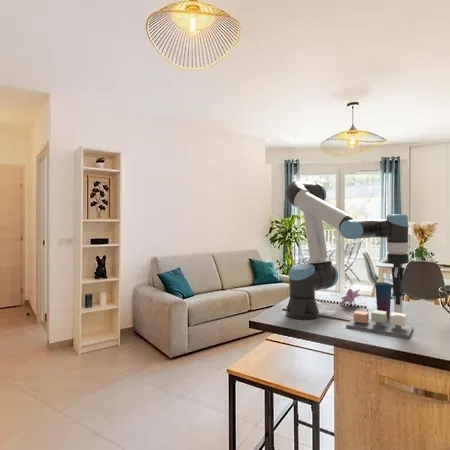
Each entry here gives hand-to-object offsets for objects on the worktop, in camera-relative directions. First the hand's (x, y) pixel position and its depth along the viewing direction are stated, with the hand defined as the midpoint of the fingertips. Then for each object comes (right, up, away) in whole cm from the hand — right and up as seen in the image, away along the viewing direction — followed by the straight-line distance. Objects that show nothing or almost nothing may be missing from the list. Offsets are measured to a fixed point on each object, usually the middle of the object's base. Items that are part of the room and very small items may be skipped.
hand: (398, 312), depth 131 cm
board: (-6, -8, +4) cm, 10 cm away
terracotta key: (-11, -6, +8) cm, 15 cm away
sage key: (-6, -5, +4) cm, 8 cm away
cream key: (0, -5, 0) cm, 5 cm away
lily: (-4, -7, +38) cm, 39 cm away
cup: (+4, -8, +21) cm, 22 cm away
